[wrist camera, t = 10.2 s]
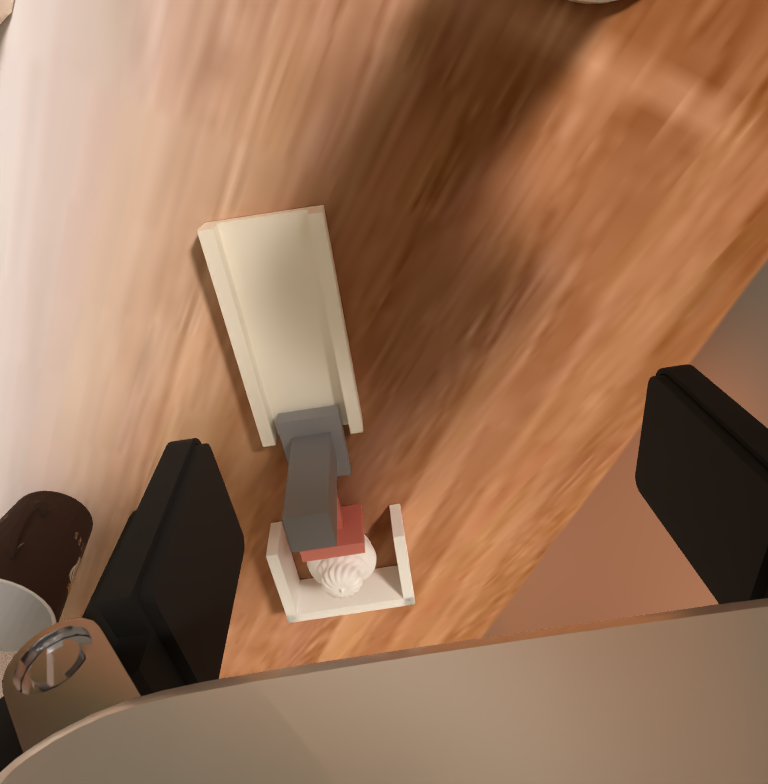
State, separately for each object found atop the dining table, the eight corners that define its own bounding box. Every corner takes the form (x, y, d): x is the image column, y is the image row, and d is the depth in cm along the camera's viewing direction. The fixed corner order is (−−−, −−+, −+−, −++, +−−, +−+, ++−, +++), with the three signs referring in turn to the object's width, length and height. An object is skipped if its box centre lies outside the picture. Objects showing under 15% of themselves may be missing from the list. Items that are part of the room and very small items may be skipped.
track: (323, 204, 36) (322, 211, 34) (362, 416, 44) (363, 431, 43) (204, 222, 36) (196, 231, 34) (266, 431, 45) (262, 447, 43)
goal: (400, 503, 50) (404, 535, 46) (410, 570, 54) (415, 604, 51) (270, 522, 50) (265, 556, 46) (292, 588, 54) (288, 622, 51)
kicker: (340, 404, 42) (341, 492, 34) (362, 512, 48) (368, 612, 39) (275, 414, 42) (258, 504, 34) (305, 521, 48) (298, 622, 39)
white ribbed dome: (319, 501, 49) (316, 561, 43) (383, 514, 50) (389, 574, 44) (301, 548, 52) (296, 611, 46) (362, 560, 53) (365, 622, 47)
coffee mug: (67, 567, 51) (12, 668, 42) (-21, 517, 47) (-101, 616, 38) (148, 502, 47) (106, 597, 39) (61, 443, 44) (-7, 534, 35)
